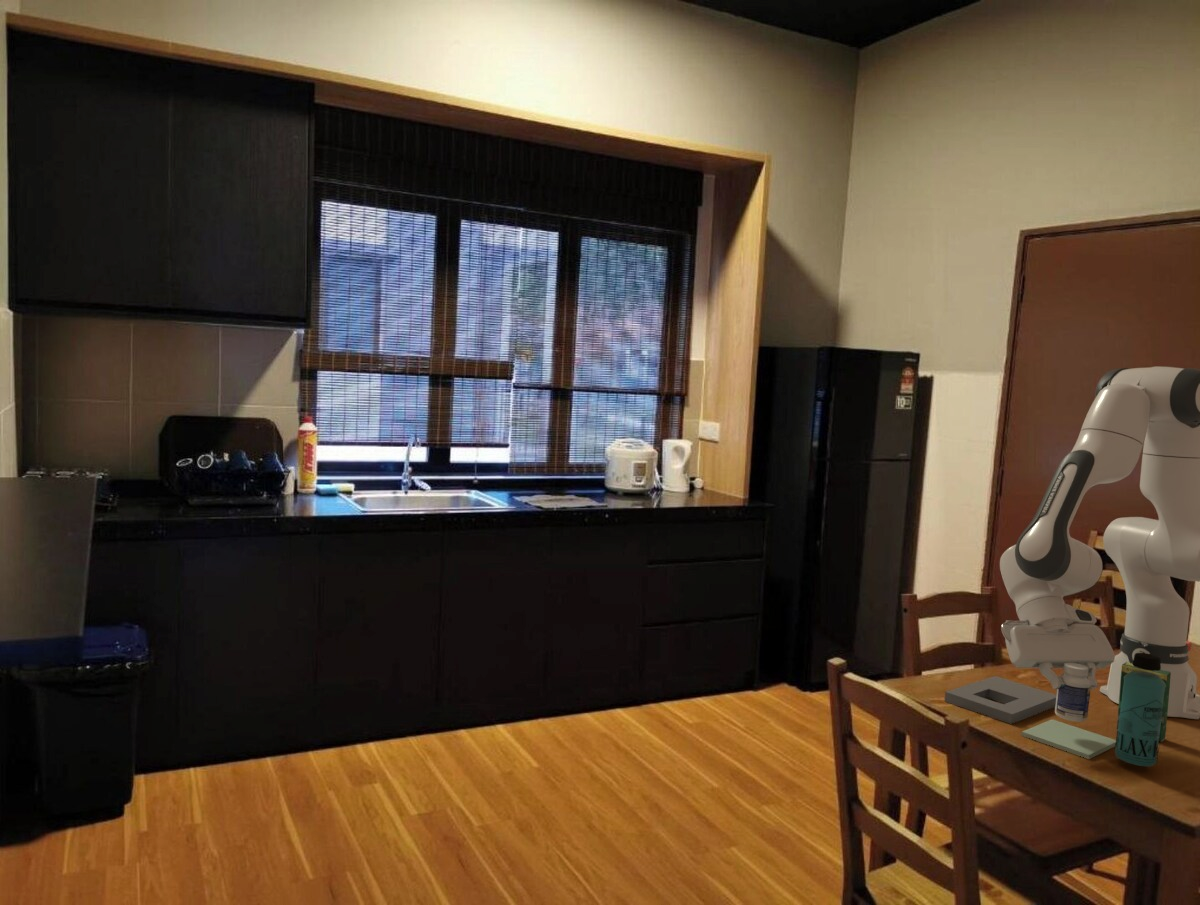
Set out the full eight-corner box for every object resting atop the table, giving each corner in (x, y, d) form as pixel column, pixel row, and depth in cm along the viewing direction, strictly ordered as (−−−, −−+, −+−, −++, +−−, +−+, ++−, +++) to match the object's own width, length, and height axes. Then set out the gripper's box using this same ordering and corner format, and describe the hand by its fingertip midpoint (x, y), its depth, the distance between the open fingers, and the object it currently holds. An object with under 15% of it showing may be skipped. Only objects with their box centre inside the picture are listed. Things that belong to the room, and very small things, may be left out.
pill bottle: (1091, 724, 162) (1097, 672, 161) (1059, 720, 163) (1065, 668, 162) (1081, 713, 167) (1087, 663, 167) (1050, 710, 168) (1056, 659, 168)
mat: (1051, 723, 174) (1052, 719, 174) (1117, 745, 165) (1117, 740, 165) (1021, 735, 167) (1021, 731, 167) (1088, 759, 157) (1089, 755, 157)
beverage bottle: (1104, 761, 157) (1116, 650, 155) (1130, 757, 159) (1142, 647, 158) (1139, 777, 151) (1152, 662, 149) (1165, 772, 153) (1178, 659, 152)
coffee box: (1113, 729, 173) (1120, 663, 172) (1118, 725, 175) (1125, 660, 174) (1161, 743, 167) (1168, 674, 166) (1165, 739, 169) (1173, 671, 168)
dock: (994, 684, 196) (995, 675, 195) (1059, 705, 185) (1060, 695, 184) (944, 701, 183) (945, 691, 183) (1011, 724, 172) (1012, 714, 172)
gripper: (1006, 612, 169) (1035, 680, 160) (1101, 614, 172) (1134, 680, 164) (989, 628, 173) (1016, 695, 165) (1082, 629, 177) (1113, 695, 168)
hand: (1076, 688), depth 164 cm, fingers closed on pill bottle, 5 cm apart
